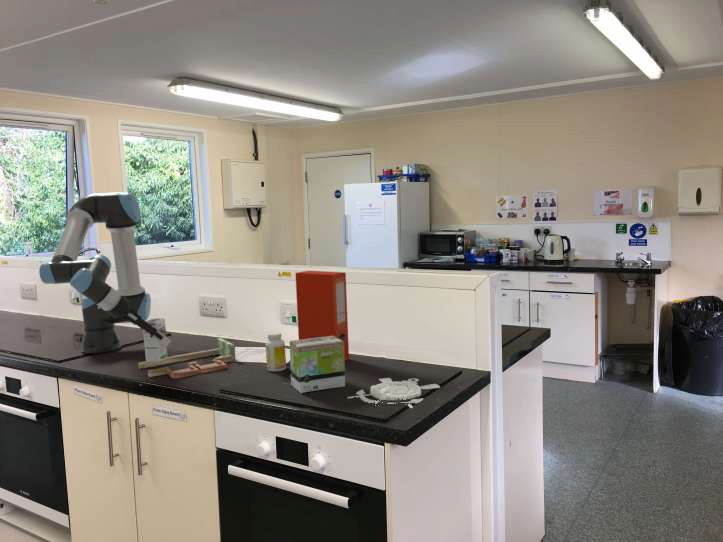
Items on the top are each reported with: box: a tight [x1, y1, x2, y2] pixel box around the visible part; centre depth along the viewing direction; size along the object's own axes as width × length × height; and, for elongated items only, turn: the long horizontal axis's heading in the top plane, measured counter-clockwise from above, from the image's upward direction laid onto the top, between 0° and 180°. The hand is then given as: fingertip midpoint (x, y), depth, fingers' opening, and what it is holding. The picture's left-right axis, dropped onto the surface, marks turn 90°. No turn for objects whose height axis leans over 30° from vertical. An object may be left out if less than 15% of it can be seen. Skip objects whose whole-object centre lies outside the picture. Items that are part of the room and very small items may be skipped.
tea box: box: [289, 336, 346, 394], centre depth 189 cm, size 15×10×15 cm, turn 114°
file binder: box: [295, 270, 350, 361], centre depth 220 cm, size 8×17×32 cm, turn 53°
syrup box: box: [142, 317, 169, 362], centre depth 215 cm, size 6×6×14 cm
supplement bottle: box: [265, 331, 287, 373], centre depth 209 cm, size 7×7×13 cm
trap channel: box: [137, 337, 236, 380], centre depth 218 cm, size 23×32×6 cm
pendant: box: [347, 377, 441, 409], centre depth 181 cm, size 21×28×1 cm
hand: (165, 341), depth 217 cm, fingers closed on syrup box, 8 cm apart
